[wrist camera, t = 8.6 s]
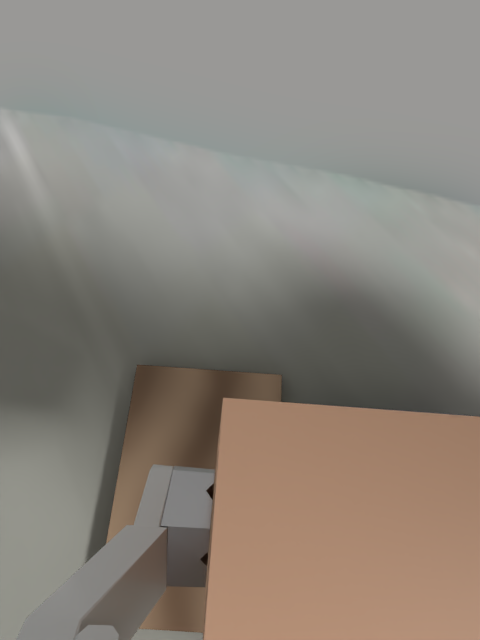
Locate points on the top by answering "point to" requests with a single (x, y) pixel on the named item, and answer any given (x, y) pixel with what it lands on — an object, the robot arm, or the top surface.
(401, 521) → the peg
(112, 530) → the board
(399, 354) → the top surface
